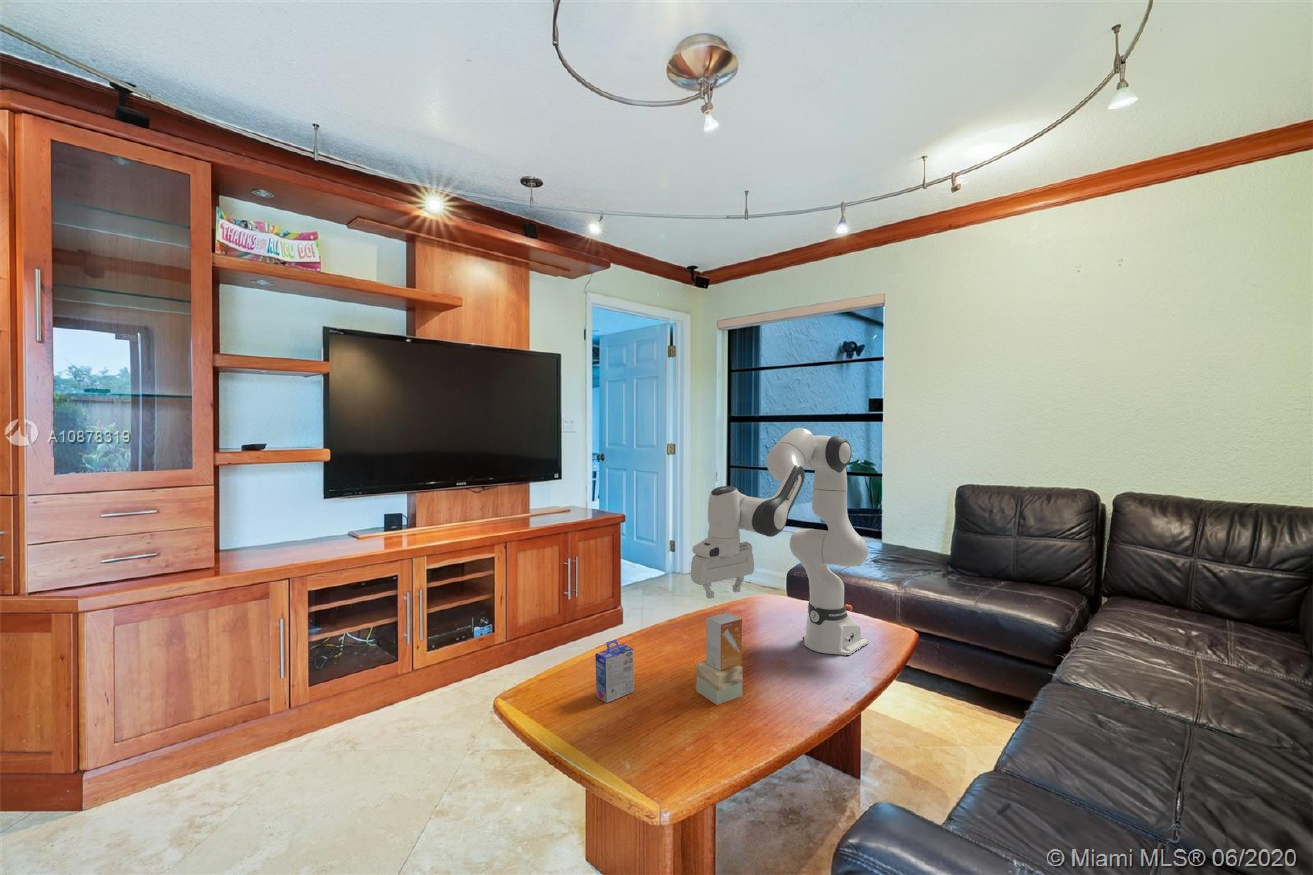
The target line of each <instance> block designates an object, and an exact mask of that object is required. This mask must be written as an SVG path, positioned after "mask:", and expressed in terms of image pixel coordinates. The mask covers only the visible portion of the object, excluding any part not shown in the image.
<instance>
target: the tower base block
mask: <svg viewBox="0 0 1313 875" xmlns="http://www.w3.org/2000/svg"><path fill="white" fill-rule="evenodd" d="M695 690H696V692H697V693H698V694H700V695H701V696H703V697H705V698H706V699H707V700H709V701H710V702H712V703H713V704H714V705H717V706H718V705H721V704H724V703H727V702H729V701H733V700H735V699H738V698H740V697H743V682H740V683H738V684H735V685H733V686H730V687H728V688H725V689H723V690H720V691H718V690H716V689H714V688H712V687H711V686H709V685H707V684H706V683H704V682H702V681H700V680H699V679H697V678H696V689H695Z"/></svg>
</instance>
